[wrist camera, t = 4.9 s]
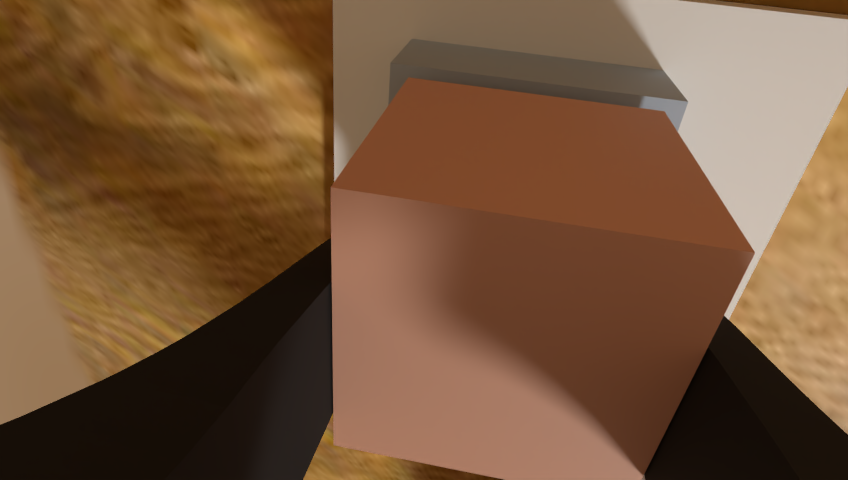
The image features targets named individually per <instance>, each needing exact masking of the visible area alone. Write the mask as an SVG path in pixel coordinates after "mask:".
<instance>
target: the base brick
mask: <svg viewBox="0 0 848 480" xmlns="http://www.w3.org/2000/svg"><path fill="white" fill-rule="evenodd" d="M408 77H410V78H417V79H425V80H433V81H440V82H448V83H455V84H463V85H470V86H478V87H485V88H493V89H501V90H508V91H516V92H523V93H531V94H538V95H546V96H553V97H561V98H569V99H576V100H584V101H591V102H599V103H606V104H614V105H621V106H629V107H637V108H644V109H652V110H659V111H665V113H666V114H667V116H668V118H669V119H670V121H671V122H672V124H673V125H674V127H675V128H676V130H677V132H678V130H679V127H680V124H681V121H682V118H683V115H684V113H685V110H686V107H687V104H688V101H687V99H686V98H685V97H684V96H683V94H682V93H681V92H680V91H679V89H678V88H677V87H676V85H675V84H674V83H673V82H672V80H671V79H670V78H669V77H668V75H667V74H666V73H665V72H664V70H658V69H650V68H642V67H634V66H626V65H618V64H610V63H602V62H594V61H586V60H578V59H570V58H562V57H554V56H546V55H538V54H530V53H522V52H514V51H506V50H498V49H490V48H482V47H474V46H466V45H458V44H450V43H442V42H434V41H426V40H418V39H411V40H410V41H409V43H408V44H407V45H406V46H405V47H404V48H403V49H402V50H401V52H400V53H399V54H398V55H397V56H396V57H395V58H394V59H393V61H392V62H391V63H390V82H389V102H388V105H389V104H390V103H391V101H392V100H393V98H394V97H395V95H396V94H397V93H398V91H399V90H400V88H401V87H402V86H403V84H404V83H405V81H406V80H407V78H408Z"/></svg>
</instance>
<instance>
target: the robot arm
mask: <svg viewBox="0 0 848 480" xmlns="http://www.w3.org/2000/svg"><path fill="white" fill-rule="evenodd" d="M332 414H333V344H332V264H331V239H328V240H327V241H326V242H324V243H323V244H321V245H320V246H318V247H317V248H316V249H314V250H313V251H311V252H310V253H309V254H307V255H306V256H304V257H303V258H302V259H300V260H299V261H298V262H296V263H295V264H293V265H292V266H291V267H289V268H288V269H287V270H285V271H284V272H282V273H281V274H280V275H278V276H277V277H276V278H274V279H273V280H271V281H270V282H269V283H267V284H266V285H264V286H263V287H261V288H260V289H258V290H257V291H256V292H254V293H253V294H251V295H250V296H248V297H247V298H245V299H244V300H243V301H241V302H240V303H238V304H237V305H235V306H233V307H232V308H230V309H229V310H227V311H225V312H224V313H222V314H221V315H219V316H217V317H216V318H214V319H213V320H211V321H210V322H208V323H206V324H205V325H203V326H202V327H200V328H198V329H197V330H195V331H194V332H192V333H190V334H189V335H187V336H185V337H184V338H182V339H180V340H178V341H177V342H175V343H173V344H171V345H169V346H168V347H166V348H164V349H162V350H160V351H159V352H157V353H155V354H153V355H151V356H149V357H147V358H145V359H143V360H141V361H139V362H138V363H136V364H134V365H132V366H130V367H128V368H126V369H124V370H122V371H120V372H118V373H116V374H114V375H112V376H110V377H108V378H106V379H104V380H102V381H99V382H97V383H95V384H93V385H91V386H88V387H86V388H84V389H82V390H80V391H77V392H75V393H73V394H70V395H68V396H66V397H64V398H61V399H59V400H57V401H55V402H53V403H50V404H48V405H46V406H44V407H41V408H39V409H37V410H35V411H32V412H30V413H28V414H26V415H24V416H21V417H19V418H16V419H14V420H11V421H9V422H6V423H4V424H1V425H0V480H303V478H304V476H305V474H306V471H307V469H308V467H309V465H310V463H311V460H312V458H313V456H314V454H315V451H316V449H317V447H318V445H319V443H320V440H321V438H322V436H323V434H324V432H325V429H326V427H327V425H328V423H329V420H330V418H331V416H332ZM503 480H504V479H503ZM642 480H848V435H847V434H846V433H845V432H844V431H843V430H842V429H841V428H840V427H839V426H838V425H837V424H835V423H834V422H833V421H832V420H831V419H830V418H829V417H828V416H827V415H826V414H825V413H824V412H822V411H821V410H820V409H819V408H818V407H817V406H816V405H815V404H814V403H813V402H812V401H811V400H810V399H809V398H808V397H807V396H806V395H805V394H804V393H803V392H802V391H800V390H799V389H798V388H797V387H796V386H795V385H794V384H793V383H792V382H791V381H790V380H789V379H788V378H787V377H786V376H785V375H784V374H783V373H782V372H781V371H780V370H779V369H778V368H777V367H776V366H775V365H774V364H773V363H772V362H771V361H770V360H769V359H768V358H767V357H766V356H765V355H764V354H763V353H762V352H761V351H760V350H759V349H758V348H757V347H756V346H755V345H754V344H753V343H752V342H751V341H750V340H749V339H748V338H747V337H746V336H745V335H744V334H743V333H742V332H741V331H740V330H739V329H738V328H737V327H736V326H735V325H734V324H733V323H731V322H730V321H729V320H728V319H727V318H726V317H725V316H723V318H722V320H721V322H720V324H719V326H718V328H717V330H716V332H715V334H714V336H713V338H712V340H711V342H710V344H709V346H708V348H707V350H706V352H705V354H704V356H703V358H702V360H701V362H700V364H699V366H698V368H697V370H696V372H695V374H694V376H693V378H692V380H691V382H690V384H689V386H688V388H687V390H686V392H685V394H684V396H683V398H682V400H681V402H680V404H679V406H678V408H677V410H676V412H675V414H674V416H673V418H672V420H671V422H670V424H669V426H668V428H667V430H666V432H665V434H664V436H663V438H662V440H661V442H660V444H659V446H658V448H657V450H656V452H655V454H654V456H653V458H652V460H651V462H650V464H649V466H648V468H647V470H646V472H645V474H644V476H643V478H642Z"/></svg>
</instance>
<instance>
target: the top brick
mask: <svg viewBox="0 0 848 480" xmlns="http://www.w3.org/2000/svg"><path fill="white" fill-rule="evenodd" d="M754 255H755V252H754V250H753V249H752V247H751V245H750V244H749V242H748V241H747V239H746V238H745V236H744V234H743V233H742V231H741V230H740V228H739V227H738V225H737V224H736V222H735V220H734V219H733V217H732V216H731V214H730V213H729V211H728V210H727V208H726V206H725V205H724V203H723V202H722V200H721V199H720V197H719V195H718V194H717V192H716V191H715V189H714V188H713V186H712V185H711V183H710V181H709V180H708V178H707V177H706V175H705V174H704V172H703V171H702V169H701V167H700V166H699V164H698V163H697V161H696V160H695V158H694V157H693V155H692V153H691V152H690V150H689V149H688V147H687V146H686V144H685V142H684V141H683V139H682V138H681V136H680V135H679V133H678V132H677V130H676V128H675V127H674V125H673V124H672V122H671V121H670V119H669V118H668V116H667V114H666V113H665V111H659V110H652V109H644V108H637V107H629V106H621V105H614V104H606V103H599V102H591V101H584V100H576V99H569V98H561V97H553V96H546V95H538V94H531V93H523V92H516V91H508V90H501V89H493V88H485V87H478V86H470V85H463V84H455V83H448V82H440V81H433V80H425V79H417V78H410V77H408V78H407V80H406V81H405V83H404V84H403V86H402V87H401V88H400V90H399V91H398V93H397V94H396V95H395V97H394V98H393V100H392V101H391V103H390V104H389V105H388V107H387V108H386V110H385V111H384V112H383V114H382V115H381V117H380V118H379V119H378V121H377V122H376V124H375V125H374V127H373V128H372V129H371V131H370V132H369V134H368V135H367V136H366V138H365V139H364V141H363V142H362V143H361V145H360V146H359V148H358V149H357V151H356V152H355V153H354V155H353V156H352V158H351V159H350V160H349V162H348V163H347V165H346V166H345V167H344V169H343V170H342V172H341V173H340V175H339V176H338V177H337V179H336V180H335V182H334V183H333V184H332V186H331V264H332V344H333V424H334V445H336V446H341V447H346V448H351V449H356V450H361V451H365V452H370V453H375V454H380V455H385V456H390V457H395V458H400V459H405V460H410V461H415V462H420V463H425V464H430V465H435V466H440V467H445V468H449V469H454V470H459V471H464V472H469V473H474V474H479V475H484V476H489V477H494V478H499V479H504V480H642V478H643V476H644V474H645V472H646V470H647V468H648V466H649V464H650V462H651V460H652V458H653V456H654V454H655V452H656V450H657V448H658V446H659V444H660V442H661V440H662V438H663V436H664V434H665V432H666V430H667V428H668V426H669V424H670V422H671V420H672V418H673V416H674V414H675V412H676V410H677V408H678V406H679V404H680V402H681V400H682V398H683V396H684V394H685V392H686V390H687V388H688V386H689V384H690V382H691V380H692V378H693V376H694V374H695V372H696V370H697V368H698V366H699V364H700V362H701V360H702V358H703V356H704V354H705V352H706V350H707V348H708V346H709V344H710V342H711V340H712V338H713V336H714V334H715V332H716V330H717V328H718V326H719V324H720V322H721V320H722V318H723V316H724V314H725V312H726V310H727V308H728V306H729V304H730V302H731V300H732V298H733V296H734V294H735V292H736V290H737V288H738V286H739V284H740V282H741V280H742V278H743V276H744V274H745V272H746V270H747V268H748V266H749V264H750V262H751V260H752V259H753V257H754Z"/></svg>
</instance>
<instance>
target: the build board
mask: <svg viewBox="0 0 848 480" xmlns="http://www.w3.org/2000/svg"><path fill="white" fill-rule="evenodd" d="M411 39H418V40H426V41H434V42H442V43H450V44H458V45H466V46H474V47H482V48H490V49H498V50H506V51H514V52H522V53H530V54H538V55H546V56H554V57H562V58H570V59H578V60H586V61H594V62H602V63H610V64H618V65H626V66H634V67H642V68H650V69H658V70H664V72H665V73H666V74H667V75H668V77H669V78H670V79H671V80H672V82H673V83H674V84H675V85H676V87H677V88H678V89H679V91H680V92H681V93H682V94H683V96H684V97H685V98H686V99H687V101H688V104H687V107H686V110H685V113H684V115H683V118H682V121H681V124H680V127H679V130H678V133H679V135H680V136H681V138H682V139H683V141H684V142H685V144H686V146H687V147H688V149H689V150H690V152H691V153H692V155H693V157H694V158H695V160H696V161H697V163H698V164H699V166H700V167H701V169H702V171H703V172H704V174H705V175H706V177H707V178H708V180H709V181H710V183H711V185H712V186H713V188H714V189H715V191H716V192H717V194H718V195H719V197H720V199H721V200H722V202H723V203H724V205H725V206H726V208H727V210H728V211H729V213H730V214H731V216H732V217H733V219H734V220H735V222H736V224H737V225H738V227H739V228H740V230H741V231H742V233H743V234H744V236H745V238H746V239H747V241H748V242H749V244H750V245H751V247H752V249H753V250H754V252H755V255H754V257H753V259H752V260H751V262H750V264H749V266H748V268H747V270H746V272H745V274H744V276H743V278H742V280H741V282H740V284H739V286H738V288H737V290H736V292H735V294H734V296H733V298H732V300H731V302H730V304H729V306H728V308H727V310H726V312H725V314H724V316H725V317H726V318H727V319H728V320H729V318H730V316H731V314H732V312H733V310H734V308H735V306H736V304H737V302H738V300H739V298H740V296H741V295H742V293H743V291H744V289H745V287H746V285H747V283H748V281H749V279H750V277H751V275H752V273H753V271H754V269H755V267H756V265H757V263H758V261H759V259H760V257H761V255H762V253H763V251H764V249H765V248H766V246H767V244H768V242H769V240H770V238H771V236H772V234H773V232H774V230H775V228H776V226H777V224H778V222H779V220H780V218H781V216H782V214H783V212H784V210H785V208H786V206H787V204H788V202H789V201H790V199H791V197H792V195H793V193H794V191H795V189H796V187H797V185H798V183H799V181H800V179H801V177H802V175H803V173H804V171H805V169H806V167H807V165H808V163H809V161H810V159H811V157H812V155H813V154H814V152H815V150H816V148H817V146H818V144H819V142H820V140H821V138H822V136H823V134H824V132H825V130H826V128H827V126H828V124H829V122H830V120H831V118H832V116H833V114H834V112H835V110H836V108H837V106H838V105H839V103H840V101H841V99H842V97H843V95H844V93H845V91H846V89H847V87H848V15H843V14H834V13H825V12H816V11H807V10H798V9H789V8H780V7H771V6H763V5H754V4H745V3H736V2H727V1H718V0H333V94H334V182H335V180H336V179H337V177H338V176H339V175H340V173H341V172H342V170H343V169H344V167H345V166H346V165H347V163H348V162H349V160H350V159H351V158H352V156H353V155H354V153H355V152H356V151H357V149H358V148H359V146H360V145H361V143H362V142H363V141H364V139H365V138H366V136H367V135H368V134H369V132H370V131H371V129H372V128H373V127H374V125H375V124H376V122H377V121H378V119H379V118H380V117H381V115H382V114H383V112H384V111H385V110H386V108H387V107H388V102H389V82H390V63H391V62H392V61H393V59H394V58H395V57H396V56H397V55H398V54H399V53H400V52H401V50H402V49H403V48H404V47H405V46H406V45H407V44H408V43H409V41H410V40H411Z"/></svg>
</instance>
